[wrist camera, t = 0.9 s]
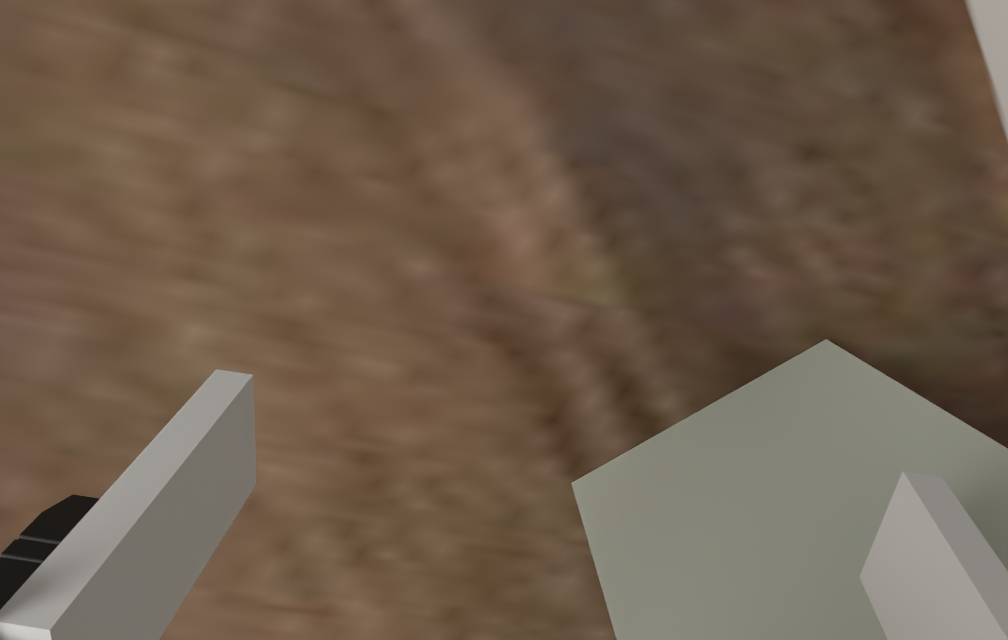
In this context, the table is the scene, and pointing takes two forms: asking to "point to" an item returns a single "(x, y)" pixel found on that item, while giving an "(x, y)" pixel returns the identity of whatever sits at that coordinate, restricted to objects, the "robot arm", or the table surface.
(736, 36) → the table surface
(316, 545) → the table surface
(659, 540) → the pedestal
